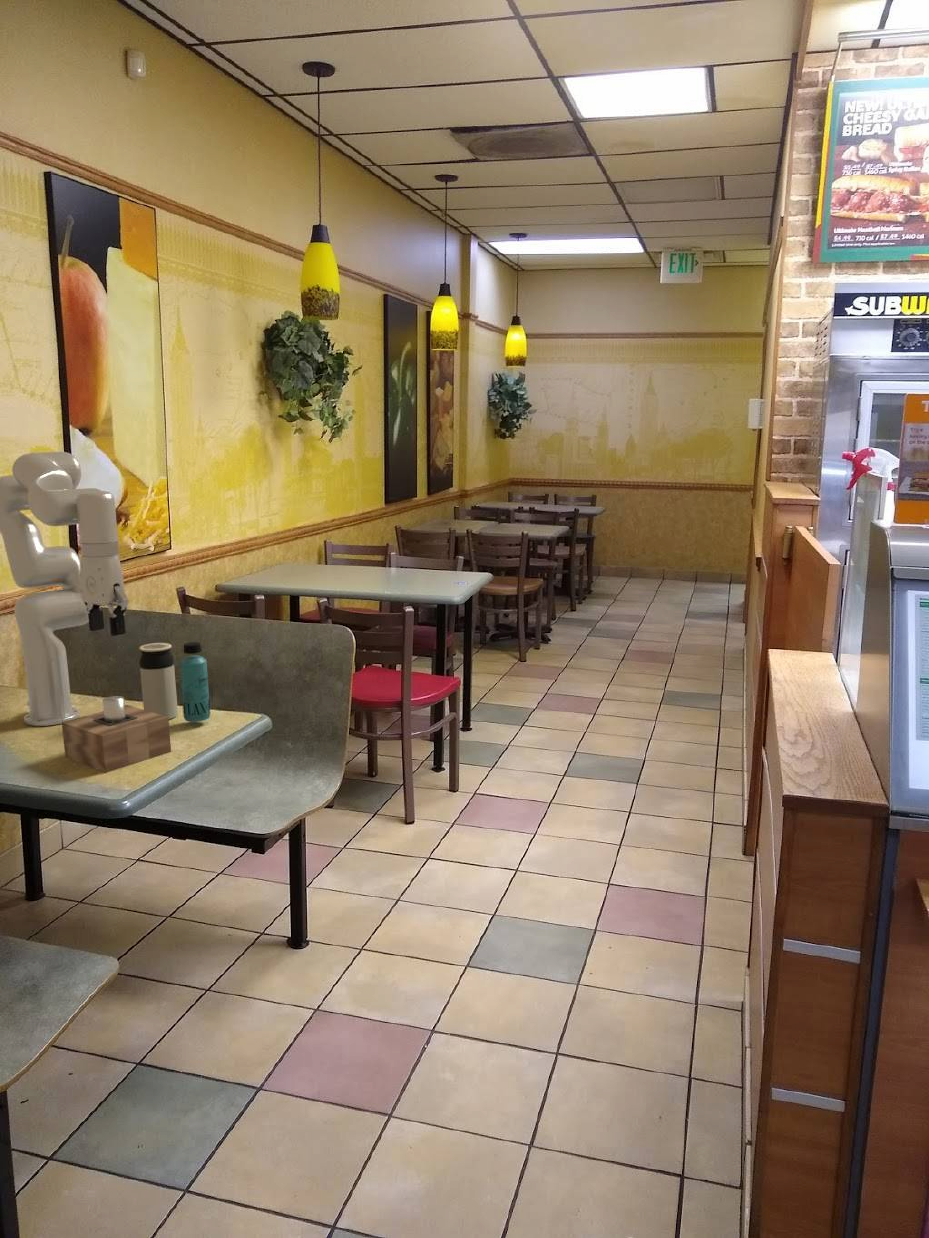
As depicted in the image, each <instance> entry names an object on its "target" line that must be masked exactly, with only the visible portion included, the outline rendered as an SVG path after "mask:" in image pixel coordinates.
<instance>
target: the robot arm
mask: <svg viewBox="0 0 929 1238" xmlns="http://www.w3.org/2000/svg"><path fill="white" fill-rule="evenodd" d="M11 470H12V471H11V472H12V475H11V474H10V475H4V476H0V534H1V536H2V537H1V538H2V540H3V544H4V548H5V549H4V550H5V552H6V556H7V560H8V564H9V569H10V571H11V576H12V579H13V581H14V582H15V583H14V584H15V585H16V586H17V587H19V588H21V589H26V590H27V589H37V588H45V587H53V586H61V588H62V589H57V590H55V589H54V590H47V591H38V592H32V593H28V594H25V595H23V596H21V597H20V598H19V599H18V600H17V601H16V602H15V604H14V610H13V612H14V616H15V621H16V624H17V626H18V627H17V628H18V630H19V634H20V639H21V644H22V651H23V660H24V661H23V662H24V669H25V677H26V678H25V680H26V685H27V686H26V687H27V696H28V697H27V698H28V700H27V702H26V705H27V707H29V712H28V713H26V714H25V715H24V717H23V722H24V724H26V725H29V726H34V727H35V726H36V727H41V726H43V727H45V726H55V725H62V722H64V721H68V720H72V719H76V718H79V716H80V711H79V709H77V708H75V707H72V706H73V705H72V699H71V697H72V696H71V688H70V687H71V686H70V678H69V677H70V676H69V670H68V658H67V650H66V646H65V645H64V643H63V641H62V640H61V639H60V638H58V637H57V636H56V635H55V634H54V631H59V630H62V629H68V628H74V627H75V628H76V627H79V626H80V627H81V626H83V625H86V624H88V626H89V631H91V632H94V631H95V632H96V631H100V630H104V629H105V620H104V619H105V618H104V611H103V610H102V607H107V609H108V611H109V614H110V617H108V621H109V630H110V636H112V637H115V636H120V635H124V634H126V621H125V620H126V619H125V616H126V614H127V613H126V611H127V608H128V604H129V601H130V599H129V598H128V597H127V595H126V593H125V583H124V582H125V581H124V576H123V571H122V564H121V561H120V549H119V547H120V546H119V537H118V536H119V535H118V524H117V512H116V511H117V510H116V502H115V497H114V494H113V493H111V492H110V491H105V490H102V489H99V488H94V487H93V488H91V487H89V488H87V487H86V488H77V487H79V484H80V482H81V477H82V469H81V465H80V462H79V461H78V459H77V458H76V457H75V455H73V454H71V453H70V452H66V451H53V452H51V451H50V452H49V451H47V452H45V451H44V452H29V453H25V454H22V455H21V456H19V457H17V458H16V459H15V460H14V462H13V465H12V469H11ZM29 510H30V512H31V514H32V515H33V517H35V518H36V519H37V520H39V521H40V522H41V523H42V524H44V525H46V526H49V527H63V526H72V525H78V533H79V542H80V553H81V554H80V555H81V557H79V555H78V553H77V552H76V551H75V549H74V548H72V547H70V546H66V545H59V546H45V545H44V542H43V539H42V538H43V537H42V534H41V530H40V528H39V526H38V525H37V523H35V522H34V521H33V520H32V519H31V518H29V516H27V515H26V514H24V513H22V512H21V511H29Z"/></svg>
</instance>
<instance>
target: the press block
mask: <svg viewBox="0 0 929 1238" xmlns="http://www.w3.org/2000/svg"><path fill="white" fill-rule="evenodd" d="M125 714H126V720H123V721H119V722H116V723H112V724H111V723H108V722H105V719H104V710H102V711H98V712H95V713H91V714H87V715H84V716H81V717H79V716H78V717H77V718H76V719H72V720H68V721H64V722H62V723H61V728H62V729H61V731H62V737H63V738H62V740H63V745H64V746H63V748H64V756H65V758H66V759H69V760H72V761H75V762H78V764H79V763H80V764H83V765H84V766H88V767H90V768H93V769H94V770H95V769H96V770H98V771H100V772H103V773H110V772H112V771H115V770H118V769H122V768H125V767H127V766H131V765H134V764H138V763H140V762H143V761H146V760H150V759H153V758H155V757H158V755H159V756H162V755H165V754H168V753H167V752H169V753H171V752H172V747H171V746H172V745H171V734H170V733H171V732H170V723H169V721H170V719H168V717H166V716H163V715H160V714H156V713H153V712H150V711H146V710H144V708H143V709H142V708H140V707H135V706H132V705H130V704H129V705H128V704H125ZM170 751H171V752H170ZM164 753H165V754H164ZM161 754H162V755H161Z"/></svg>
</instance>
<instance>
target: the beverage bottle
mask: <svg viewBox="0 0 929 1238" xmlns="http://www.w3.org/2000/svg"><path fill="white" fill-rule="evenodd" d="M201 652H203V651H202V645H201V642H197V641H191V642H186V643H184V644H183V653H184V654H188V655H187V656H185V657H183V658H182V659H181V661H180V662H179V665H180V666H179V667H180V679H181V680H180V682H181V699H182V714H183V719H184V721H187V722H189V723H191V722H192V723H193V722H195V723H196V722H204V721H206V720H209V719H210V717H211V701H210V700H211V699H210V694H209V690H210V689H209V674H208V664H207V663H208V662H207V661H208V660H207V659H206V658H205V657H204V656H202V655H198V654H199V653H201ZM189 654H193V655H189Z"/></svg>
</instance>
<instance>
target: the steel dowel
mask: <svg viewBox="0 0 929 1238" xmlns="http://www.w3.org/2000/svg"><path fill="white" fill-rule="evenodd" d="M125 705H126V704H125V697H124V696H122V695H120V696H119V695H113V696H112V695H111V696H108V697H105V698H103V699H102V707H103V711H104V719H105V722H108V723H111V724H112V723H116V722H119V721H123V720H126V714H125Z"/></svg>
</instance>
